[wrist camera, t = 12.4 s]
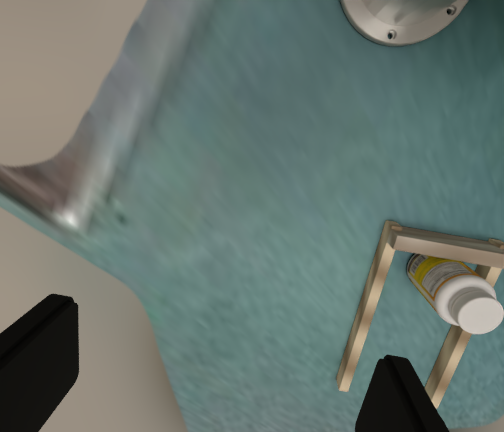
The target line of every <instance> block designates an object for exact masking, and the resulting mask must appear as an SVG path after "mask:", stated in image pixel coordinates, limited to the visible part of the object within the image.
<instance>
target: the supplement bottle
mask: <svg viewBox="0 0 504 432" xmlns="http://www.w3.org/2000/svg"><path fill="white" fill-rule="evenodd" d="M407 274H408V277H409V279H410V281H411V282H412V283H413V284H414V286H415V287H416V288H417V289H418V290H419V292H420V293H421V294H422V295H423V296H424V298H425V299H426V300H427V301H428V302H429V304H430V305H431V306H432V307H433V308H434V310H435V311H436V312H437V313H438V314H439V316H440V317H441V318H442V319H444V320H445V321H446V322H448V323H450V324H453V325H456V326H460V327H461V328H462V329H463V330H465V331H466V332H468V333H472V334H484V333H487V332H490V331H492V330H493V329H495V328H496V327H497V326H498V325H499V324H500V323H501V321H502V319H503V315H504V311H503V307H502V306H501V304H500V303H499V302H498V301H497V300H496V294H495V291H494V289H493V287H492V286H491V285H490V284H489V283H488V282H487V281H486V280H485V279H483V278H482V277H481V276H479V275H478V274H477V273H475V272H474V271H473V270H472V269H470V268H469V267H468V266H466V265H465V264H464V263H462V262H461V261H456V260H451V259H445V258H439V257H434V256H428V255H423V254H417V253H415V254H414V255H413V256H412V258H411V259H410V261H409V263H408V266H407Z"/></svg>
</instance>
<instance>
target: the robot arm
mask: <svg viewBox="0 0 504 432" xmlns="http://www.w3.org/2000/svg"><path fill="white" fill-rule="evenodd" d="M340 1H341V5H342V8H343V11H344V13H345V14H346V16H347V18H348V20H349V22H350V23H351V24H352V25H353V27H354V28H355V29H356V30H357V31H358V32H359V33H360V34H362V35H363V36H364V37H365V38H367V39H369V40H371V41H373V42H375V43H377V44H381V45H386V46H406V45H411V44H415V43H418V42H420V41H423V40H425V39H427V38H429V37H431V36H433V35H435V34H437V33H438V32H439V31H441V30H442V29H443V28H445V27H446V26H448V25H449V24H450V23H451V22H452V21H453V20H454V19H455V18H456V17H457V16H458V15H459V14H460V12H461V11H462V9H463V8H464V7H465V5H466V4H467V2H468V1H469V0H340ZM447 10H448V11H449V15H448V14H447ZM388 34H390V35H391V39H388V37H387V35H388ZM78 341H79V340H78V305H77V303H74V300H73V298H72V297H68V296H63V295H57V294H51V295H49V296H47V297H46V298H45V299H43V300H42V301H41V302H40V303H38V304H37V305H36V306H34V307H33V308H32V309H31V310H30V311H28V312H27V313H26V314H24V315H23V316H22V317H21V318H19V319H18V320H17V321H16V322H15V323H13V324H12V325H10V326H9V327H8V328H7V329H5V330H4V331H3V332H2V333H0V432H38V431H39V430H40V429H41V427H42V426H43V425H44V424H45V422H46V421H47V420H48V418H49V417H50V416H51V414H52V413H53V411H54V410H55V409H56V407H57V406H58V405H59V404H60V402H61V401H62V399H63V398H64V397H65V395H66V394H67V393H68V391H69V390H70V389H71V387H72V386H73V385H74V383H75V382H76V379H77V377H78V373H79V344H78V343H79V342H78ZM355 432H449V430H448V428H447V427H446V425H445V423H444V421H443V420H442V418H441V417H440V415H439V414H438V412H437V410H436V408H435V407H434V405H433V403H432V401H431V399H430V397H429V396H428V394H427V392H426V390H425V388H424V387H423V385H422V383H421V381H420V379H419V377H418V376H417V374H416V372H415V370H414V368H413V366H412V365H411V363H410V361H409V360H408V359H407V358H403V357H398V356H392V355H386V356H385V357H384V359H379V360H378V362H377V365H376V368H375V371H374V373H373V376H372V379H371V382H370V384H369V387H368V390H367V393H366V396H365V398H364V401H363V404H362V407H361V410H360V412H359V415H358V418H357V421H356V424H355Z"/></svg>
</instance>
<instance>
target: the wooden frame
mask: <svg viewBox="0 0 504 432" xmlns="http://www.w3.org/2000/svg"><path fill="white" fill-rule="evenodd" d="M395 250H400V251H406V252H411V253H417V254H423V255H428V256H434V257H439V258H445V259H451V260H456V261H462V262H468V263H473V264H478V266H477V268H476V270H475V273H477V274H478V275H479V276H481V277H482V278H483V279H485V280H486V281H487V282H488V283H489V284H490V285H491V286H492V287H494V285H495V282H496V280H497V278H498V276H499V274H500V272H501V269H504V242H502V241H500V240H496V239H490V238H489V240H488V241H482V240H477V239H471V238H465V237H460V236H454V235H448V234H443V233H437V232H431V231H426V230H420V229H414V228H409V227H403V226H400V225H399V224H398V223H397V222H394V221H388V220H386V222H385V225H384V228H383V231H382V234H381V238H380V241H379V244H378V247H377V250H376V254H375V257H374V260H373V263H372V266H371V269H370V273H369V276H368V279H367V282H366V285H365V288H364V292H363V295H362V298H361V301H360V304H359V308H358V311H357V314H356V317H355V320H354V323H353V327H352V330H351V333H350V336H349V339H348V343H347V346H346V349H345V352H344V355H343V358H342V362H341V365H340V368H339V371H338V374H337V378H336V380H337V384H338V388H339V390H340V391H345V392H348V390H349V387H350V384H351V381H352V378H353V375H354V372H355V369H356V366H357V363H358V360H359V357H360V354H361V351H362V348H363V345H364V342H365V339H366V336H367V333H368V330H369V327H370V324H371V321H372V318H373V315H374V312H375V309H376V306H377V303H378V300H379V297H380V294H381V291H382V288H383V285H384V282H385V279H386V276H387V273H388V270H389V267H390V264H391V261H392V258H393V255H394V252H395ZM471 335H472V333H468V332H466V331H465V330H463V329H462V328H461V327H460V326H456V325H453V324H452V326H451V328H450V331H449V333H448V335H447V337H446V340H445V342H444V344H443V347H442V349H441V351H440V354H439V356H438V358H437V361H436V363H435V365H434V368H433V370H432V372H431V374H430V377H429V379H428V381H427V384H426V386H425V390H426V392H427V394H428V396H429V397H430V399H431V401H432V403H433V405H434V407H435V408H438V406H439V404H440V402H441V400H442V397H443V395H444V393H445V391H446V389H447V387H448V384H449V382H450V380H451V378H452V376H453V374H454V371H455V369H456V367H457V365H458V363H459V361H460V358H461V356H462V354H463V352H464V350H465V348H466V345H467V343H468V341H469V339H470V337H471Z"/></svg>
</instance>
